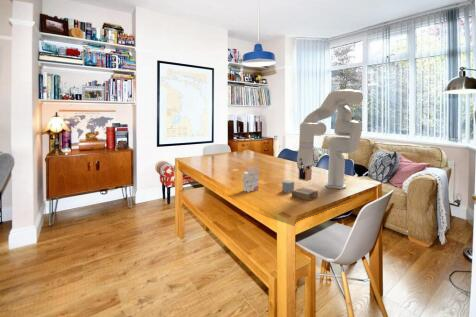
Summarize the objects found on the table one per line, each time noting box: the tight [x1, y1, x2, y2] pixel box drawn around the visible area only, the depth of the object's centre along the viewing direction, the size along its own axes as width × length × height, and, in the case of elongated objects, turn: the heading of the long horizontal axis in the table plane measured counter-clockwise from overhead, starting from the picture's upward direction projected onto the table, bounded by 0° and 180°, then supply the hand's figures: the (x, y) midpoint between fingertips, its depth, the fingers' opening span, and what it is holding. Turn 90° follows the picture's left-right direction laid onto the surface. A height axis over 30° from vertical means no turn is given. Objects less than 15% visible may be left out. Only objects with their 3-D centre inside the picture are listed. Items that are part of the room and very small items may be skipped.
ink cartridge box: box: [242, 166, 259, 193], centre depth 155 cm, size 9×5×15 cm, turn 126°
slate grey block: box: [281, 180, 295, 194], centre depth 153 cm, size 5×5×6 cm
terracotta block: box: [298, 167, 313, 182], centre depth 140 cm, size 5×5×6 cm
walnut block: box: [291, 187, 319, 202], centre depth 142 cm, size 10×10×4 cm
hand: (304, 177), depth 140 cm, fingers closed on terracotta block, 5 cm apart
